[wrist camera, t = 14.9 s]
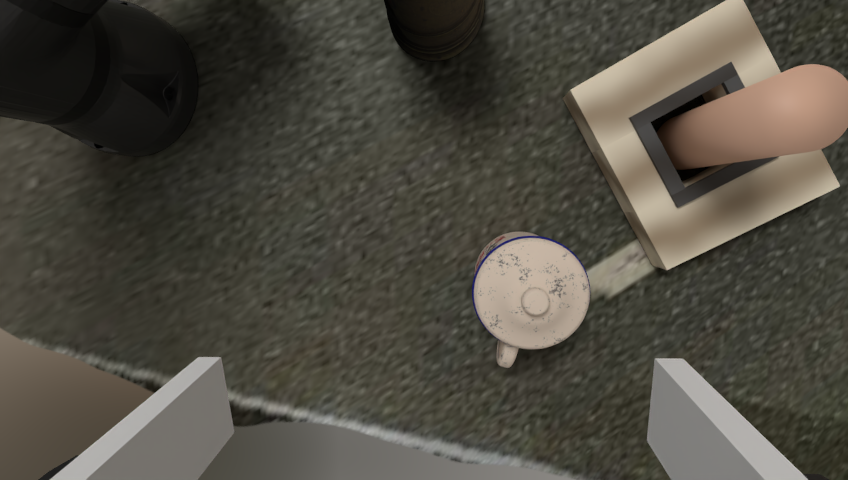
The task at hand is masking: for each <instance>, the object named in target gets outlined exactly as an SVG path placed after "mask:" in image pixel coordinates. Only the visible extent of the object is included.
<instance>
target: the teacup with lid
mask: <svg viewBox="0 0 848 480" xmlns="http://www.w3.org/2000/svg"><path fill="white" fill-rule="evenodd" d="M472 298H473V304H474V308H475V311H476V314H477V316H478V318H479V320H480V321H481V323H482V324H483V326H484V327H485V328H486V329H487V331H488V332H489V333H490V334H492V335H493V336H494V337H495V338H497V339H498V345H497V363H498V364H499V365H500V366H502V367H506V368H509V367H511V366H512V364H513V363H514V361H515V359H516V356H517V353H518V349H519V348H522V349H542V348H547V347H550V346H553V345H556V344H558V343H560V342H562V341H563V340H565V339H566V338H568V337H569V336H570V335H571V334H573V333H574V332H575V330H576V329H577V328H578V327H579V326H580V324H581V323H582V321H583V319H584V317H585V315H586V312H587V310H588V306H589V301H590V284H589V279H588V276H587V273H586V271H585V269H584V267H583V265H582V263H581V262H580V260H579V259H578V258H577V256H576V255H575V254H574V253H573V252H572V251H571V250H569V249H568V248H567V247H565V246H564V245H562V244H561V243H559V242H557V241H554V240H552V239H549V238H545V237H540V236H538V235H535V234H532V233H528V232H511V233H506V234H503V235H501V236H499V237H497V238H495V239H494V240H492V241H491V242H490V243H489V244H488V245H487V246H486V247H485V248H484V249H483V250H482V252H481V253H480V255H479V257H478V260H477V263H476V266H475V276H474V280H473V286H472Z"/></svg>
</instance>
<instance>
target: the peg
mask: <svg viewBox="0 0 848 480" xmlns="http://www.w3.org/2000/svg"><path fill="white" fill-rule="evenodd" d="M847 128H848V81H847V80H846V79H845V77H844V76H843V75H841V74H840V73H839V72H837V71H836V70H834V69H832V68H830V67H827V66H823V65H817V64H809V65H802V66H798V67H795V68H792V69H789V70H787V71H784V72H782V73H780V74H777V75H775V76H772V77H770V78H767V79H765V80H763V81H760V82H758V83H755V84H753V85H750V86H748V87H746V88H743V89H741V90H738V91H736V92H733V93H731V94H728V95H726V96H724V97H721V98H719V99H716V100H714V101H711V102H709V103H707V104H704V105H702V106H699V107H697V108H694V109H692V110H690V111H687V112H685V113H682V114H680V115H677V116H675V117H673V118H671V119H669V120H667V121H666V122H665V123H664V124H663V125H662V126H661V127H660V128H659V130H658V131H657V133H656V134H657V136H658V138H659V139H660V141H661V143H662V145H663V147H664V149H665V151H666V153H667V154H668V156H669V158H670V160H671V162H672V164H673V166H674V168H675V169H676V170H686V169H693V168H700V167H707V166H714V165H721V164H728V163H735V162H743V161H750V160H757V159H764V158H771V157H778V156H785V155H792V154H799V153H806V152H812V151H816V150H820V149H822V148H824V147H827V146H828V145H830V144H832V143H833V142H834V141H836V140H837V139H838V138H839V137H840V136H841V135H842V134H843V133H844V132H845V131H846V129H847Z"/></svg>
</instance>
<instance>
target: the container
mask: <svg viewBox="0 0 848 480" xmlns="http://www.w3.org/2000/svg"><path fill="white" fill-rule="evenodd" d="M384 2H385V6H386V9H387V16H388V20H389V23H390V27H391V30H392V33H393V35H394V37H395V39H396V41H397V42H398V44H399V45H400V46H401V47H402V48H403V49H404V50H405V51H406V52H407V53H409V54H410V55H412V56H414V57H416V58H418V59H422V60H426V61H442V60H446V59H449V58H451V57H454V56H455V55H457V54H459V53H460V52H462V51H463V50H464V49H465V48H466V47H467V46H468V45H469V44H470V43H471V42H472V41H473V39H474V38H475V36H476V35H477V33H478V31H479V29H480V26H481V23H482V20H483V15H484V0H384Z"/></svg>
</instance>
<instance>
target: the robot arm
mask: <svg viewBox="0 0 848 480" xmlns="http://www.w3.org/2000/svg"><path fill="white" fill-rule="evenodd" d="M197 94H198V78H197V71H196V66H195V62H194V59H193V56H192V54H191V52H190V50H189V48H188V46H187V44H186V42H185V41H184V39H183V38H182V36H181V35H180V34H179V33H178V32H177V31H176V30H175V29H174V28H173V27H172V26H171V25H170V24H169V23H167V22H166V21H165V20H163V19H162V18H160V17H158V16H157V15H155V14H153V13H151V12H150V11H148V10H146V9H144V8H142V7H140V6H138V5H135V4H132V3H129V2H125V1H120V0H0V116H1V117H6V118H12V119H18V120H24V121H31V122H36V123H42V124H47V125H49V126H51V127H53V128H55V129H57V130H59V131H61V132H63V133H65V134H67V135H69V136H71V137H73V138H75V139H78V140H80V141H81V142H83V143H85V144H86V145H88V146H90V147H92V148H95V149H97V150H100V151H103V152H107V153H111V154H118V155H126V156H146V155H150V154H154V153H156V152H159V151H161V150H163V149H165V148H166V147H168V146H169V145H171V144H172V143H173V142H174V141H175V140H176V139H177V138H178V137H179V136H180V135H181V134H182V133H183V131H184V130H185V129H186V127H187V125H188V124H189V122H190V120H191V117H192V115H193V112H194V109H195V106H196V101H197ZM233 433H234V427H233V422H232V416H231V410H230V404H229V399H228V393H227V387H226V382H225V376H224V370H223V365H222V359H221V357H198V358H197V359H195V360H194V361H193V362H192V363H191V364H189V365H188V366H187V367H186V368H185V369H183V370H182V371H181V372H180V373H179V374H177V375H176V376H175V377H174V378H172V379H171V380H170V381H169V382H168V383H166V384H165V385H164V386H163V387H162V388H160V389H159V390H158V391H157V392H155V393H154V394H153V395H152V396H151V397H149V398H148V399H147V400H146V401H145V402H143V403H142V404H141V405H140V406H138V407H137V408H136V409H135V410H134V411H133V412H131V413H130V414H129V415H128V416H126V417H125V418H124V419H123V420H122V421H120V422H119V423H118V424H117V425H116V426H114V427H113V428H112V429H111V430H110V431H108V432H107V433H106V434H105V435H103V436H102V437H101V438H100V439H98V440H97V441H96V442H95V443H94V444H92V445H91V446H90V447H89V448H88V449H86V450H85V451H84V452H83V453H81V454H80V455H79V456H75V457H73V458H72V459H70V460H68V461H66V462H65V463H63V464H61V465H59V466H58V467H56V468H54V469H53V470H51V471H49V472H48V473H46V474H45V475H44V476H43V477H41V478H40V479H39V480H198V478H199V477H200V476H201V475H202V473H203V472H204V471H205V469H206V468H207V467H208V465H209V464H210V463H211V461H212V460H213V459H214V458H215V457H216V455H217V454H218V453H219V451H220V450H221V449H222V448H223V446H224V445H225V444H226V442H227V441H228V440H229V439H230V437H231V436H232V435H233ZM647 442H648V443H649V445H650V447H651V448H652V450H653V451H654V453H655V455H656V456H657V458H658V459H659V461H660V462H661V464H662V466H663V467H664V469H665V470H666V472H667V474H668V475H669V477H670V478H671V480H828V479H827V478H825V477H824V476H822V475H820V474H802V473H801V472H800V471H799V470H798V469H797V468H796V467H795V466H794V465H792V464H791V463H790V462H789V461H788V460H787V459H786V458H785V457H784V456H783V455H782V454H781V453H780V452H779V451H778V450H777V449H776V448H775V447H774V446H773V445H772V444H771V443H770V442H769V441H768V440H767V439H766V438H765V437H763V436H762V435H761V434H760V433H759V432H758V431H757V430H756V429H755V428H754V427H753V426H752V425H751V424H750V423H749V422H748V421H747V420H746V419H745V418H744V417H743V416H742V415H741V414H740V413H739V412H738V411H737V410H736V409H735V408H733V407H732V406H731V405H730V404H729V403H728V402H727V401H726V400H725V399H724V398H723V397H722V396H721V395H720V394H719V393H718V392H717V391H716V390H715V389H714V388H713V387H712V386H711V385H710V384H709V383H708V382H707V381H706V380H704V379H703V378H702V377H701V376H700V375H699V374H698V373H697V372H696V371H695V370H694V369H693V368H692V367H691V366H690V365H689V364H688V363H687V362H686V361H685V360H684V359H655V362H654V372H653V383H652V393H651V403H650V414H649V424H648V434H647Z"/></svg>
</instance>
